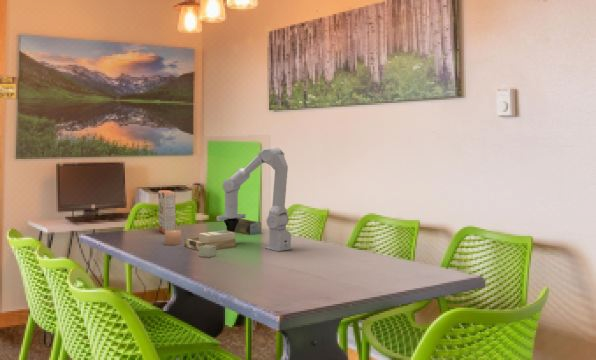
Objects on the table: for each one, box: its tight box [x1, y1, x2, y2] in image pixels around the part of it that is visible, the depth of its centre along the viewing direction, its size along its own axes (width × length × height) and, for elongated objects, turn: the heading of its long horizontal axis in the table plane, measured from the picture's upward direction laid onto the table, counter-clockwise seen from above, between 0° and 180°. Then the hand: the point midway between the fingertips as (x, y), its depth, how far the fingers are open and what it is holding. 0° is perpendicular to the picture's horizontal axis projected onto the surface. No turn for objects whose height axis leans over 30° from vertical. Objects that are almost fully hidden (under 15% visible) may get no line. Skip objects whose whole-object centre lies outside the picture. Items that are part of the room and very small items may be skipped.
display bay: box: [184, 236, 236, 251], centre depth 255 cm, size 14×18×4 cm
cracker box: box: [158, 189, 177, 235], centre depth 292 cm, size 14×6×21 cm, turn 25°
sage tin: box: [198, 245, 217, 258], centre depth 236 cm, size 5×5×4 cm
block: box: [164, 229, 182, 246], centre depth 261 cm, size 7×7×6 cm
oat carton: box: [198, 229, 236, 243], centre depth 257 cm, size 8×14×6 cm, turn 131°
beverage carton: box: [225, 218, 262, 236], centre depth 295 cm, size 8×19×7 cm, turn 46°
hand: (231, 235), depth 263 cm, fingers closed
